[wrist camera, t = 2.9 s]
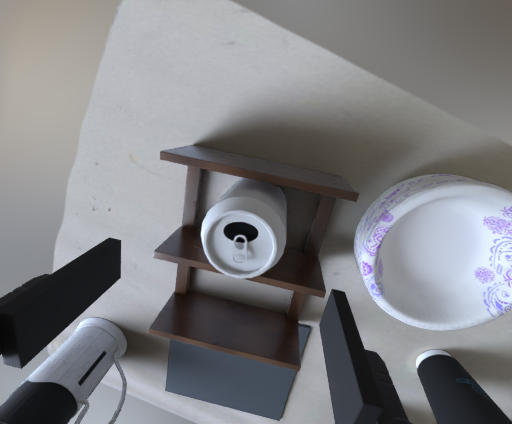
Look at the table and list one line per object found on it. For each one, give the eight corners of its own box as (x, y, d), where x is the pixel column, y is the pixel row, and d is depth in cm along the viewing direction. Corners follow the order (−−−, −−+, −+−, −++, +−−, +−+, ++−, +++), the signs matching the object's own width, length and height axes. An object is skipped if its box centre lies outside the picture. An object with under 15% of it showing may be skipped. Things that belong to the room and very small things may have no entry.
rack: (341, 176, 30) (359, 193, 22) (296, 321, 37) (299, 371, 29) (191, 144, 31) (160, 150, 23) (176, 292, 38) (148, 333, 30)
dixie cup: (467, 339, 34) (545, 430, 24) (463, 383, 37) (532, 484, 26) (404, 341, 36) (451, 429, 25) (403, 384, 38) (447, 480, 28)
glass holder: (72, 314, 42) (-40, 411, 27) (155, 323, 40) (83, 431, 26) (82, 356, 44) (-14, 463, 30) (161, 366, 43) (98, 484, 29)
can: (288, 175, 30) (289, 205, 19) (285, 234, 33) (283, 290, 21) (226, 172, 31) (191, 199, 20) (227, 230, 34) (196, 282, 22)
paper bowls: (329, 199, 31) (342, 222, 23) (468, 145, 27) (537, 152, 20) (368, 300, 34) (390, 349, 27) (495, 265, 31) (562, 309, 23)
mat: (310, 326, 37) (310, 328, 36) (279, 418, 43) (279, 421, 43) (176, 293, 38) (175, 295, 37) (166, 388, 44) (165, 390, 44)
